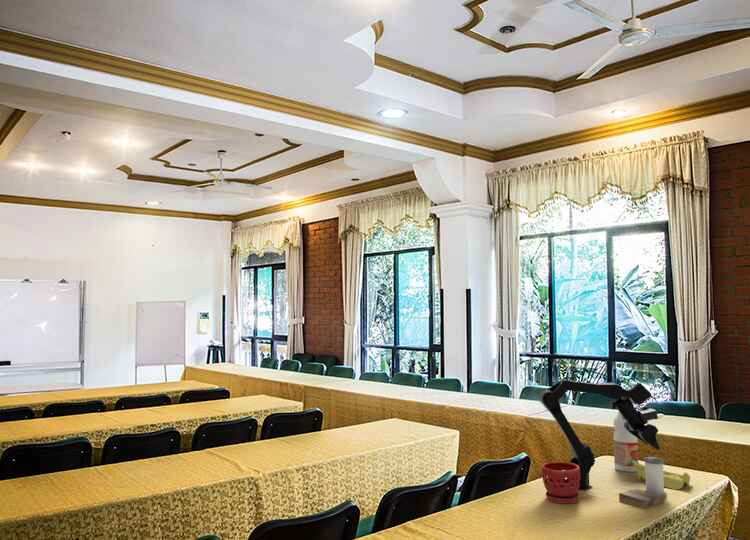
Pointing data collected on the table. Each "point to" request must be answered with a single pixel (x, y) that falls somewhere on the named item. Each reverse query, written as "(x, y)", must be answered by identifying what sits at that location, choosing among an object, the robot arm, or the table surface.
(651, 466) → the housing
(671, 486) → the plastic component
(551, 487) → the plant pot
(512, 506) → the table surface
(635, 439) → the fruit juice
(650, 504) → the stand
